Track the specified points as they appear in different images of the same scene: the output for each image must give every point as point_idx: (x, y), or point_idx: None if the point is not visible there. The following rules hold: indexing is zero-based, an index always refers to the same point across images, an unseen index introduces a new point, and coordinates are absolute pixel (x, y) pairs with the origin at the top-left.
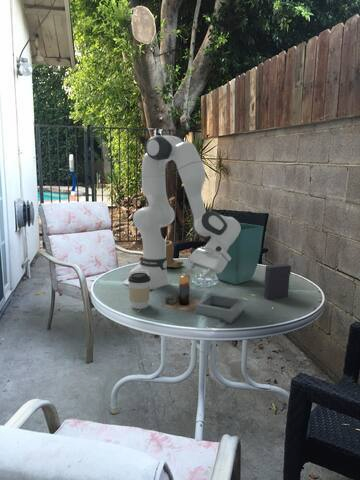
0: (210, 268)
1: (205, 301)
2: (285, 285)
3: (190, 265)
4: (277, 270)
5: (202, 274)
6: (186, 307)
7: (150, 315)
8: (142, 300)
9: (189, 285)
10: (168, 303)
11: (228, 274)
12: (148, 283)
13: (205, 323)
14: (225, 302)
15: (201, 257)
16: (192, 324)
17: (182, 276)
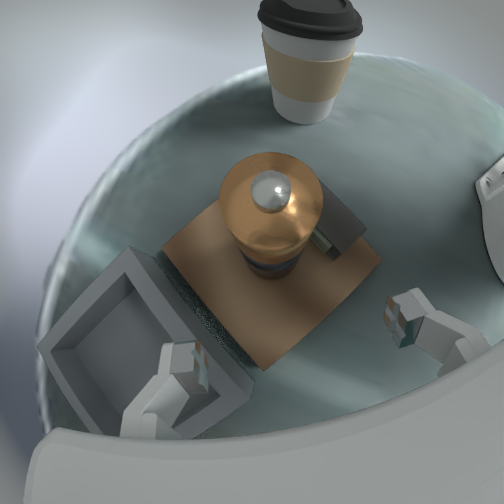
0: (99, 434)
1: (163, 323)
2: None
3: (462, 325)
4: None
5: (186, 361)
6: (217, 244)
7: (231, 117)
8: (268, 73)
9: (244, 253)
10: None
11: None
12: (276, 37)
13: (92, 266)
14: (174, 424)
15: (436, 489)
16: (103, 221)
17: (259, 172)
